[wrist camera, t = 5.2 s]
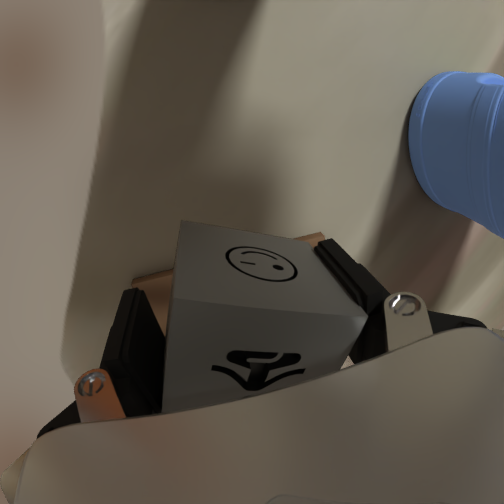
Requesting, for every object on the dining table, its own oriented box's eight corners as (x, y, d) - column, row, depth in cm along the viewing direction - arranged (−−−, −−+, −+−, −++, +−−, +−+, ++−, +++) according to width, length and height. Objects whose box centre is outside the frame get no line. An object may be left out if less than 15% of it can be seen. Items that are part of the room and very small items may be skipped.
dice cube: (308, 242, 12) (368, 316, 8) (274, 338, 14) (305, 425, 10) (181, 220, 11) (173, 297, 6) (165, 328, 13) (161, 424, 8)
